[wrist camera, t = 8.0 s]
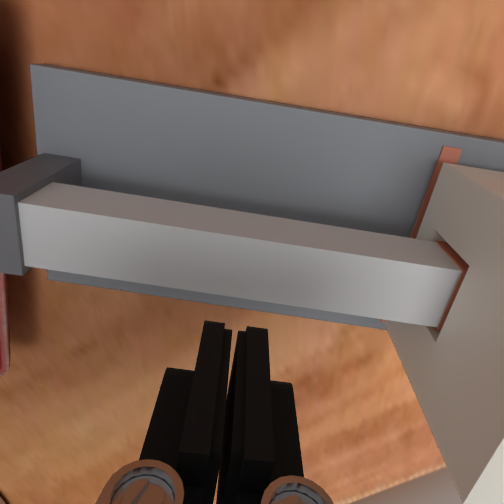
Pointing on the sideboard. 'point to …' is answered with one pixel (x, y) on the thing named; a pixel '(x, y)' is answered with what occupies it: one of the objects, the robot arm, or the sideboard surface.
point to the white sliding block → (464, 335)
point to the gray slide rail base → (233, 201)
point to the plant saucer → (4, 321)
